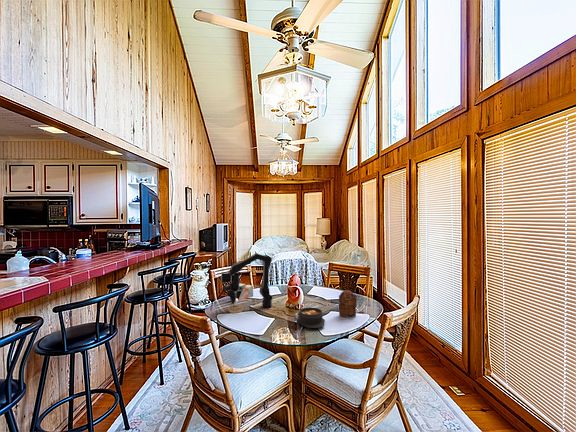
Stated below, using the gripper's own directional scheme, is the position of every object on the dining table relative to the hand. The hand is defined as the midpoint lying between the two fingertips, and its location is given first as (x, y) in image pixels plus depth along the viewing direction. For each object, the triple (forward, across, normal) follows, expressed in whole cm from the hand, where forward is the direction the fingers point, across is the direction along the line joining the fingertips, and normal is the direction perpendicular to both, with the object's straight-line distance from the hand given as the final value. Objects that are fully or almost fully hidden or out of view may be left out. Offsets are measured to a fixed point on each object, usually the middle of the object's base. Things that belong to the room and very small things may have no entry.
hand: (235, 302), depth 230 cm
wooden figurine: (+6, -1, +82) cm, 82 cm away
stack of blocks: (+7, -32, -6) cm, 33 cm away
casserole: (+7, +17, +58) cm, 61 cm away
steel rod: (+6, 0, 0) cm, 6 cm away
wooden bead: (+6, 0, 0) cm, 6 cm away
